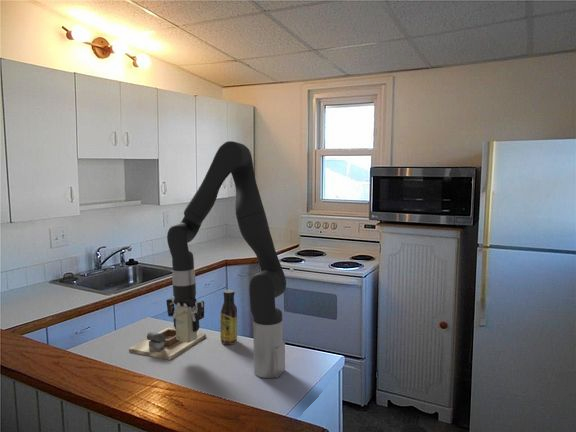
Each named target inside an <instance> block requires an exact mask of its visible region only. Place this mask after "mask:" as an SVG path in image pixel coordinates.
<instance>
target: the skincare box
mask: <svg viewBox="0 0 576 432" xmlns="http://www.w3.org/2000/svg"><path fill="white" fill-rule="evenodd" d="M174 307H175V308H176V305H175V304H174ZM196 309H197V308H196V305H195V306H193V308H191V307H184V306H179V307H177V314H176V313H175V314H176V339H177V340H180V341H183V342H187V343H189V342H192V341H194V340H196V339H197V333H198V331H196V332H193V322H192V321H193V320H192V318H191V316H190V310H191V311H192V312H193V311H195V310H196ZM194 315H195V313H194Z"/></svg>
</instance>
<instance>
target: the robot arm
mask: <svg viewBox="0 0 576 432" xmlns="http://www.w3.org/2000/svg"><path fill="white" fill-rule="evenodd" d="M230 174H231V177H232V180H233V183H234V186H235V187H234V188H235V205H234V206H235V217H236V221H237V225H238V228H239V232H240V234H241V236H242V238H243V239H244V241H245V242H246V243H247V245H248V246H249V247H250V249H251V250H252V251H253V253H254V254H255V256H256V258H257V261H258V265H259V268H260V271H259V272H257V273H255V274H254V275H252V277H251V278H250V281H249V286H248V287H249V288H248V289H249V306H250V307H249V308H250V312H251V314H252V317H253V320H252V321H253V322H252V323H253V325H252V327H253V330H252V331H253V369H254V370H253V373H254V375H256V376H257V377H260V378H263V379H264V378H265V379H272V378H277V379H278V378H279V377H280V376H281V375H282V374H283V373H284V372H285V371H286V343H285V341H283V312H282V310H281V309H279V308H278V307H276V298H277V297H280V296H282V295H283V294H284V293H285V291H286V290H287V289H286V288H287V279H286V275H285V271H284V270H283V268H282V265H281V261H280V259H279V257H278V253H277V250H276V248H275V245H274V241H273V238H272V234H271V230H270V227H269V222H268V219H267V218H268V217H267V215H266V211H265V208H264V205H263V200H262V198H261V193H260V191H259V188H258V187H259V186H258V184H257V180H256V176H255V175H256V174H255V168H254V163H253V157H252V153H251V151H250V149H249V148H248V146H246V145H245V144H243V143H240V142H236V141H233V140H230V141H225V142H222V144H221V145H220V146H219V147H218V149H217V151H216V152H215V155H214V157H213V159H212V161H211V164H210V166H209V168H208V170H207V172H206V174H205V175H204V176H205V177H204V178H203V180H202V182H201V184H200V185H199V187H198V189H197V190H196V192H195V194H193V196H192V198H191V199H190V201H189V202H188V204H187V205H186V207H185V209H184V211H183V215H184V216H183V218H182V220H181V221H180V222H179V223H176V224H173V225H171V226H170V227H169V228H168V230H167V233H166V239H167V245H168V248H169V252H170V256H171V258H172V262H171V263H172V265H171V266H172V276H171V278H172V280H171V281H172V294H173V295H172V296H173V297H174V298H173V297H170V298H168V299H166V301H165V303H166V307H167V308H166V311H167V317H171V318H172V319H173V328H174V329H176V314H177V307H179V306H184V307H191V308H193V306H195V305H196V310H195V311H193V312H192V311H191V310H190V316H191V318H192V320H193V321H192V322H193V332H196V331H197V332H198V331H199V330H200V320H202V319H204V318H205V301H204V300H201V301H200V300H199V301H198V300H197V298H196V296H197V286H196V283H197V282H196V273H195V260H194V254H193V252H192V251H190V250H189V245H188V243H190V242H192V240H194V239H195V237H196V236H197V234H198V233H199V230H200V229H201V226H202V224H203V221H204V220H205V219H206V218H207V216H208V214H209V213H210V212H211V210H212V208H213V207H214V205H215V203H216V201H217V198H218V195H219V191H220V189H221V188H222V185H223V183H224V182H225V180H226V179H227V178H228V177H229V175H230ZM175 305H176V308H175ZM175 313H176V314H175ZM194 313H195V315H194Z"/></svg>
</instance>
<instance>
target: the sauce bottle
mask: <svg viewBox="0 0 576 432" xmlns="http://www.w3.org/2000/svg"><path fill="white" fill-rule="evenodd" d="M219 321H220V323H219V324H220V328H219V329H220V337H219V338H220V342H221V344H224V345H228V346H229V345H234V344H236V343H237V341H238V308H237V306H236V304H235V290H234V289H225V290H223V304H222V307H221V310H220V319H219Z"/></svg>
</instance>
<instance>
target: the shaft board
mask: <svg viewBox="0 0 576 432" xmlns="http://www.w3.org/2000/svg"><path fill="white" fill-rule="evenodd" d="M204 337H205V338H207V334H206V333H203V332H202V333H201V332H197V339H196V340H194V341H192V342H189V343H187V342H183V341H180V340H177V339H176V329H175V328H174V327H173V328H172V327H166V328H164V329H163V330H161V331H159V332H152V331H149V332H148V333H147V335H146V338H145V339H143V340H142V341H140V342H138V343H136V344H134V345H133V346H131V347H129V348H128V353H132V354H139V355H143V356H148V357H154V358H157V359H163V360H168V361H171V360H172V359H174V358H176V357H177V356H178V355H180V354H182V353H183V352H185V351H187V350H188V349H189V348H191V347H193V346H194V345H195V343H196V344H198V343H199V342H200V341H202V340H203V338H204ZM205 338H204V339H205ZM201 339H202V340H201ZM198 341H199V342H198ZM192 345H193V346H192Z"/></svg>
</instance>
